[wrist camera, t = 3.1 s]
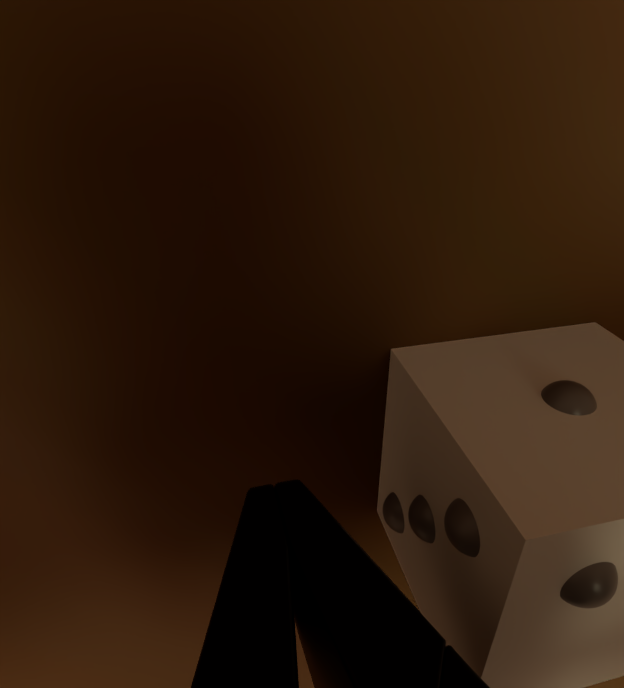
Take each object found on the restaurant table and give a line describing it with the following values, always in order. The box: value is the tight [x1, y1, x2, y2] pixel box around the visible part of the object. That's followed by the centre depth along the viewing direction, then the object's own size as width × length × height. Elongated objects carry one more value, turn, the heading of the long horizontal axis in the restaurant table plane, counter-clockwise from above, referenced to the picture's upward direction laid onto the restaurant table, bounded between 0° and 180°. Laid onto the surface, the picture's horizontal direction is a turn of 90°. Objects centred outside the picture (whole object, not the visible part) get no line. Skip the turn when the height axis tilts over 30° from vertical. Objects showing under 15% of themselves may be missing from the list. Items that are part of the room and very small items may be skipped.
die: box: [377, 322, 624, 688], centre depth 8 cm, size 4×4×4 cm
